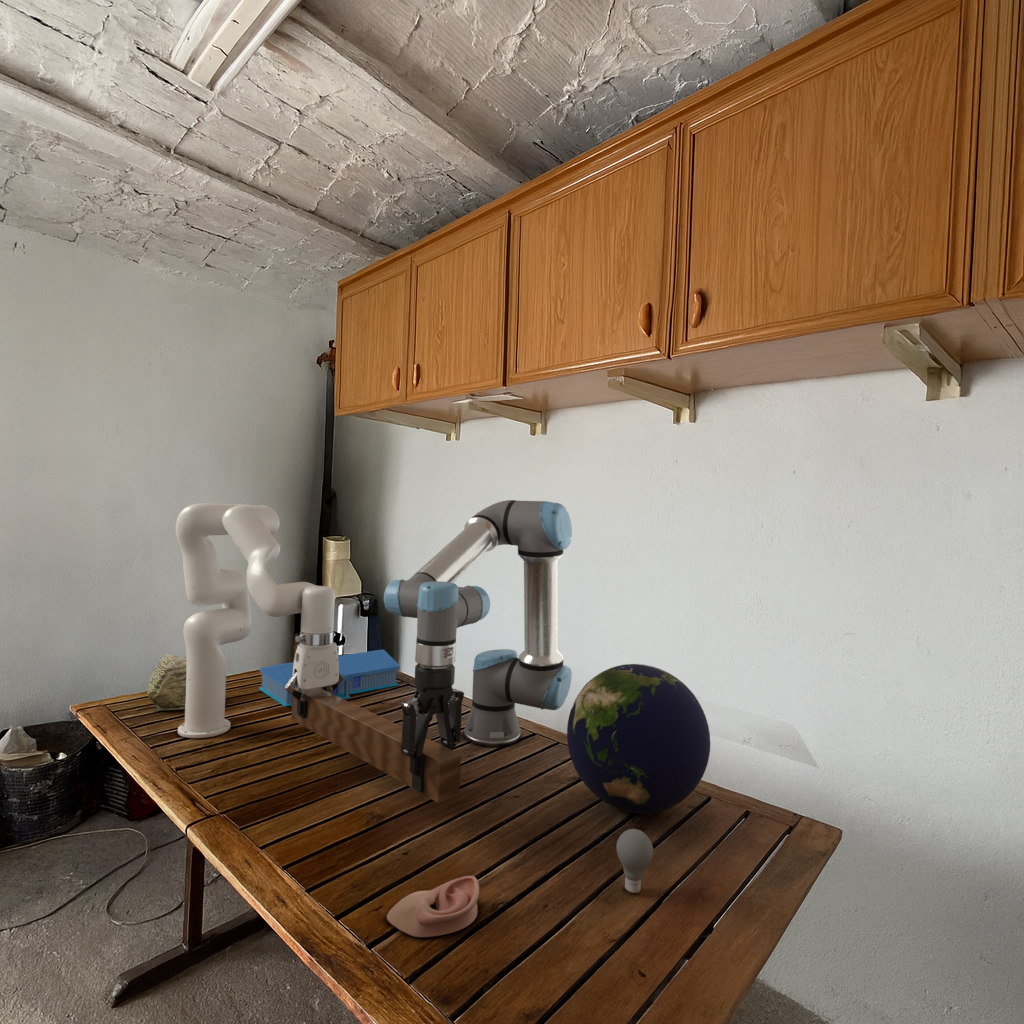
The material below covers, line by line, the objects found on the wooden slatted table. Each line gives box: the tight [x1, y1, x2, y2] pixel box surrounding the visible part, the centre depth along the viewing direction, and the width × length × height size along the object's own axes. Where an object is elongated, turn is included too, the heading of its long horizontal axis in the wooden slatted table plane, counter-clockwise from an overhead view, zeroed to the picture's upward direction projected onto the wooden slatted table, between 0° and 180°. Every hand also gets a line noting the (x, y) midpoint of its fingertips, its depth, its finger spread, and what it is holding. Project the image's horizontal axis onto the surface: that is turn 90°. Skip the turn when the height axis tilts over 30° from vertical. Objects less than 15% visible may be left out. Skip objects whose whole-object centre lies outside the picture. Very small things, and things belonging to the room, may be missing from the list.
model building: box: [258, 649, 401, 707], centre depth 208 cm, size 39×24×10 cm, turn 132°
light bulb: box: [615, 828, 654, 894], centre depth 106 cm, size 6×6×10 cm
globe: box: [566, 663, 711, 814], centre depth 135 cm, size 30×30×30 cm
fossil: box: [147, 654, 187, 712], centre depth 185 cm, size 9×18×15 cm, turn 132°
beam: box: [290, 687, 462, 804], centre depth 136 cm, size 56×5×8 cm, turn 46°
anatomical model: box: [386, 875, 480, 938], centre depth 98 cm, size 13×4×12 cm
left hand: (313, 713), depth 151 cm, fingers closed on beam, 5 cm apart
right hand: (430, 784), depth 121 cm, fingers closed on beam, 5 cm apart
